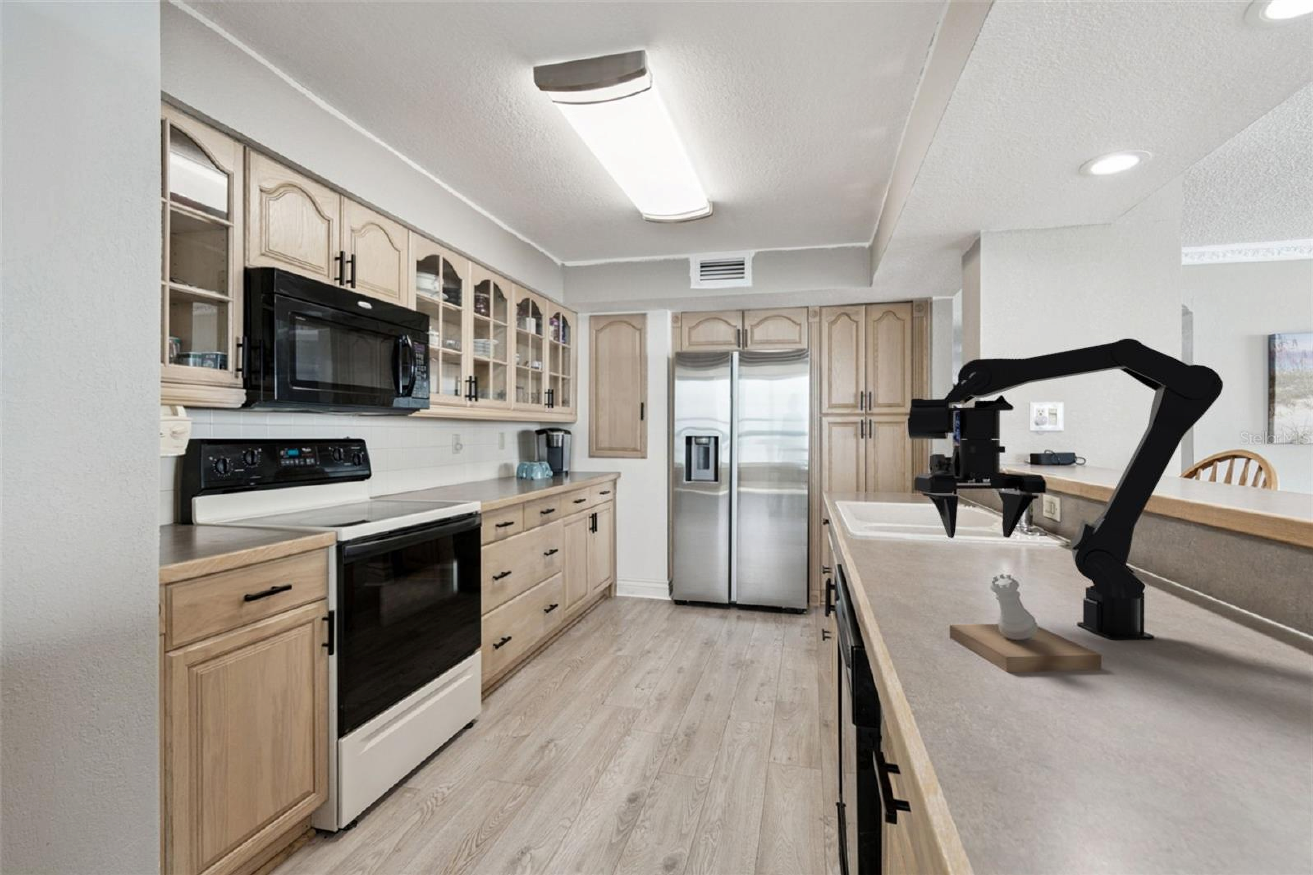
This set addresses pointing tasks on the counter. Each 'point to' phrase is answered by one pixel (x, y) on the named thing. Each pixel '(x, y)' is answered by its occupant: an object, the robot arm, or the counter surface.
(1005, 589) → the rook chess piece
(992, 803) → the counter surface
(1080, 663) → the walnut block
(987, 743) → the counter surface
